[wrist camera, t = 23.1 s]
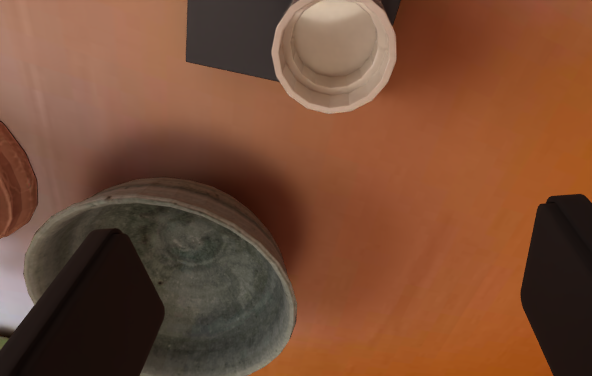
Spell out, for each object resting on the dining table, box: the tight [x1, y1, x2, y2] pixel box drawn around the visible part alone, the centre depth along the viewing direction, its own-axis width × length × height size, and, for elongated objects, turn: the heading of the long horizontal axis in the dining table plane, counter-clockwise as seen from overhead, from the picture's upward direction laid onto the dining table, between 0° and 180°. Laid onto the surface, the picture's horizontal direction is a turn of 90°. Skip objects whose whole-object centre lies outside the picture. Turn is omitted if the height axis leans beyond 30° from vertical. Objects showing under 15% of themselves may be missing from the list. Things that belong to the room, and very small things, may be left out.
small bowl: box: [271, 0, 397, 114], centre depth 25 cm, size 7×7×4 cm
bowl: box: [23, 177, 297, 376], centre depth 35 cm, size 21×21×10 cm
